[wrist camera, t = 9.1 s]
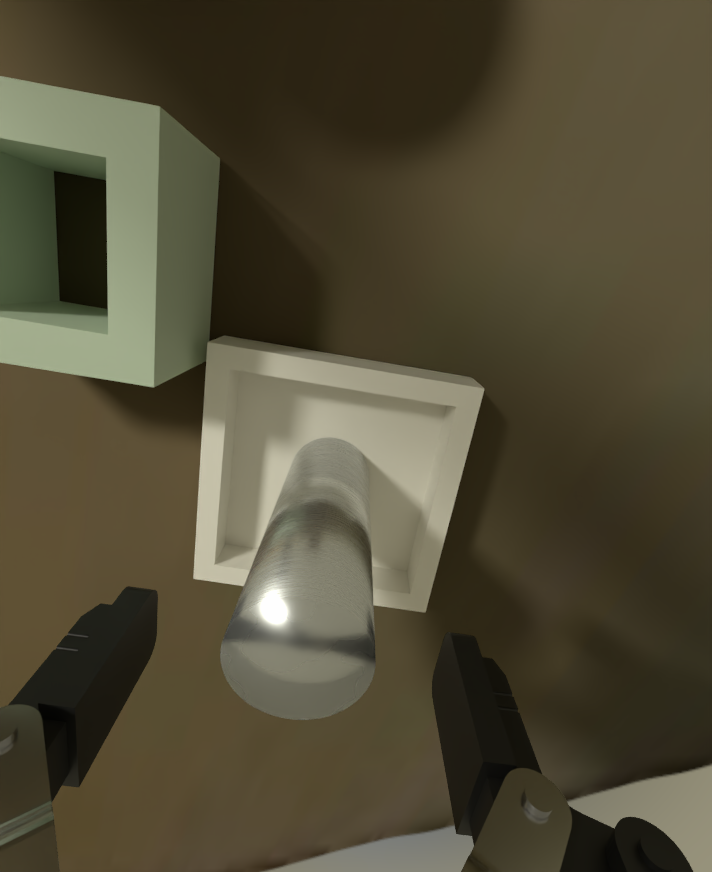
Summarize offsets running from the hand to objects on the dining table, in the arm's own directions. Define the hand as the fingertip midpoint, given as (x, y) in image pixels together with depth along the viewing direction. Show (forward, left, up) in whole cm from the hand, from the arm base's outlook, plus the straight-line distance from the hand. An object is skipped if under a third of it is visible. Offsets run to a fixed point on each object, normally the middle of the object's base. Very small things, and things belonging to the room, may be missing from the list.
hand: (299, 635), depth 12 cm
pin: (0, 0, -11) cm, 11 cm away
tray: (0, 0, -12) cm, 12 cm away
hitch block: (-11, +9, -12) cm, 18 cm away
